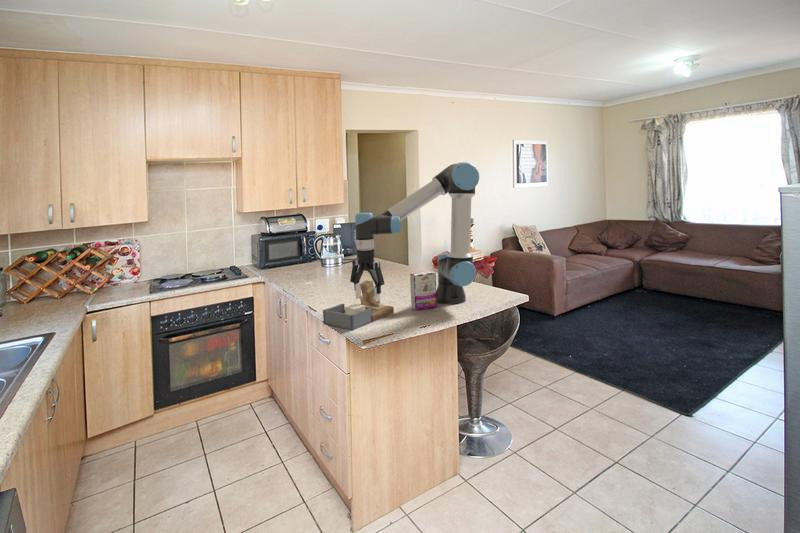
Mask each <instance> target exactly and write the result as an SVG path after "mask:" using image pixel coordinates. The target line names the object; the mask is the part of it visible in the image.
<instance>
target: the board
mask: <svg viewBox="0 0 800 533" xmlns="http://www.w3.org/2000/svg"><path fill="white" fill-rule="evenodd" d="M358 305H361V303H360V304H358ZM364 306H365V310H366V309H368V308H371V313H372V323H373V322H376V321H378V320H381V319H384V318H385V317H388V316H390V315H392V314H395V311H394V306H392V305H385V304H381V306H380V307H373V306H366V305H364Z"/></svg>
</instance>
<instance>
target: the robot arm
mask: <svg viewBox="0 0 800 533" xmlns="http://www.w3.org/2000/svg"><path fill="white" fill-rule="evenodd" d="M479 180H480V172H479V170H478V169H477V167H476V166H475V165H474V164H473V163H470V162H466V161H463V162H458V163H452V164H450V165H449V166H447V167H445V168H444V169H443V170H442V171H440V172H439V173H438V174H436V175H435V176H433V177H432V180H431V181H430V182H428V183H427V184H425V185H424V186H422V187H421V188H419V189H418V190H416V191H414V192H412V193H411V194H410V195H408V196H407V197H405V198H403V199H402V200H400V201H399V202H398V203H396V204H395V205H393V206H391V207H390V208H389V209H386V210H385V211H384V212H382V213H381V214H377V215H376V216H374V215H373V213H372V212H358V213H356V214H355V215H354V216H355V217H354V221H355V222H354V223H355V224H354V226H355V241H356V258H357V260H352V262H351V263H352V269H351V272H350V273H351V275H350V279H349V282H350V283H353V284H354V287H353V288H354V291H355V299H357V300H358V299H360V296H361V295H362V291H361V287H360V284H361V283H362V282H360V281H361V279H362V276H363V274H364V271H365V272H367V273H369V275H370V277H371V279H372V281H373V284H374V292H375V302H377V301H380V302H381V294H382V288H381V287H382V286H384V285H385V279H384V276H383V271H382V269H381V262H380V261H375V249H374V248H375V241H374V240H375V239H374V238H375V237H374V235H375V236H377V235H395V234H400V233H401V231H402V221H403V220H404V219H406V218H407V217H409V216H411V215H412V214H414V213H415V212H416V211H418V210H420V209H421V208H423V207H425V206H426V205H427V204H429V203H430V202H432V201H434V200H435V199H437V198H439V196H445V195H447V194H448V195H449V197H451V198H450V199H451V215H450V216H451V219H450V221H451V223H450V225H451V226H450V252H448V253H441V254H438V255H437V261H436V262H437V286H436V299H437V303H439V304H445V305H446V304H447V305H448V304H451V305H453V304H461V303H464V302H465V301H467V299H466V298H467V296H466V292H465V289H464V287H467V286H469V285H471V284H472V283H473V281H474V280H475V279H476V276H477V269H476V267H475V265H474V255H473V254H472V252H471V227H472V226H471V224H472V222H471V221H472V198H473V197H474V196H475V195H476V186H477V185H478V184H479ZM474 282H475V281H474Z"/></svg>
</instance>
